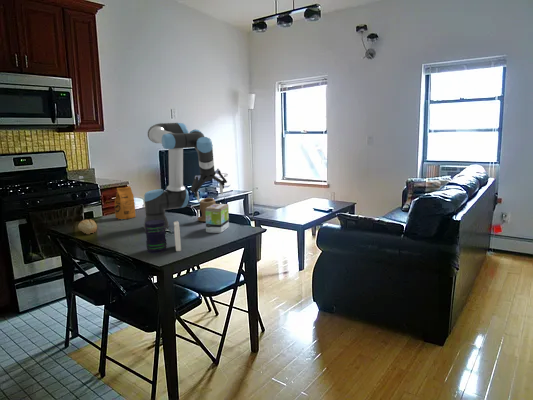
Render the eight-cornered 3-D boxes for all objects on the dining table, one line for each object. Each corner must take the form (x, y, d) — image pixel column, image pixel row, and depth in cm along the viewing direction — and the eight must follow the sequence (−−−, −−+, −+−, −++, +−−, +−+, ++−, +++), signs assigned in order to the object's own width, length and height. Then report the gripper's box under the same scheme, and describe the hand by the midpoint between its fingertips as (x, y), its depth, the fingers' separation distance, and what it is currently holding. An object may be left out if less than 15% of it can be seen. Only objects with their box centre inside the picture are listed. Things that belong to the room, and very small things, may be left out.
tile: (176, 251, 201) (174, 226, 199) (175, 245, 211) (173, 221, 209) (181, 250, 202) (179, 225, 200) (180, 245, 211) (178, 221, 209)
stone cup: (204, 223, 258) (202, 200, 255) (195, 220, 267) (194, 198, 265) (224, 220, 267) (223, 197, 264) (215, 217, 276) (214, 195, 274)
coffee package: (113, 219, 280) (110, 187, 276) (129, 215, 289) (127, 185, 286) (121, 220, 274) (118, 188, 270) (137, 217, 283) (134, 186, 279)
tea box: (222, 233, 234) (220, 208, 231) (205, 232, 236) (204, 208, 233) (229, 226, 248) (228, 203, 246) (214, 226, 250) (212, 203, 248)
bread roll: (91, 229, 253) (89, 216, 252) (101, 233, 243) (99, 220, 241) (75, 232, 247) (73, 219, 245) (84, 236, 236) (83, 223, 235)
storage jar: (142, 252, 201) (140, 223, 198) (154, 246, 210) (152, 219, 207) (159, 254, 197) (157, 224, 195) (170, 248, 206) (168, 220, 204)
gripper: (185, 176, 201) (190, 207, 215) (231, 163, 210) (233, 194, 224) (181, 167, 206) (186, 199, 220) (226, 155, 215) (228, 186, 229)
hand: (210, 196), depth 222 cm, fingers open, 13 cm apart
